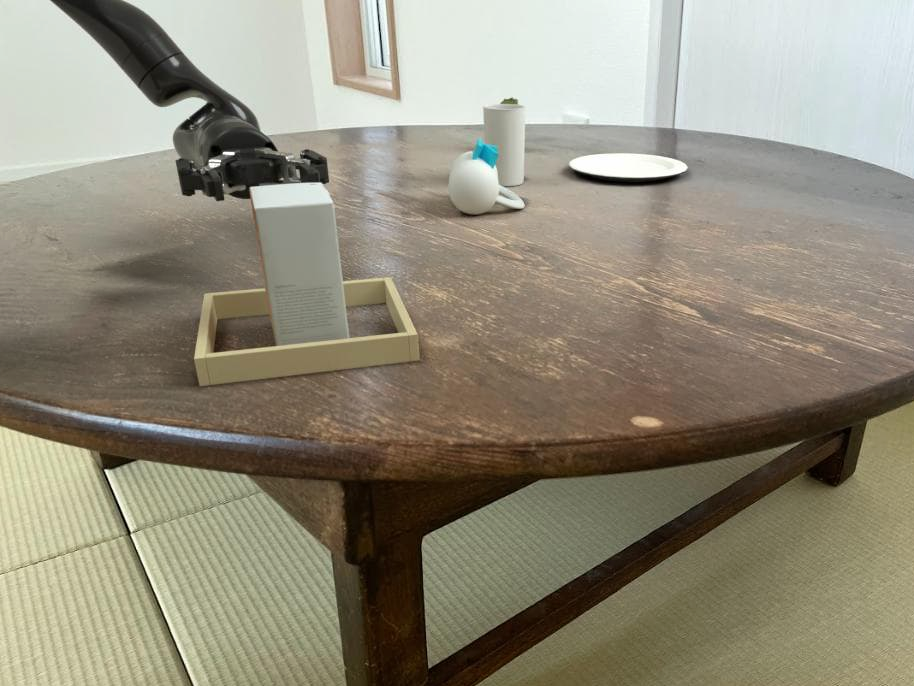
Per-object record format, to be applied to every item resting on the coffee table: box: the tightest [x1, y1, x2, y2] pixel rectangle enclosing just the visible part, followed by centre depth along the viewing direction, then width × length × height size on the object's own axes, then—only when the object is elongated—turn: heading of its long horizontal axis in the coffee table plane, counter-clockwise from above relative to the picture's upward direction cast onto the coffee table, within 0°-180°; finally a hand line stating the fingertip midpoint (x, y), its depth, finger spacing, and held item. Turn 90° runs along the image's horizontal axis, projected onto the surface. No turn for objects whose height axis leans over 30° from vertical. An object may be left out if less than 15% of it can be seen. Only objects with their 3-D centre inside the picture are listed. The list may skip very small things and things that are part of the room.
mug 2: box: [447, 138, 526, 216], centre depth 116 cm, size 12×9×12 cm
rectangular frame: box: [193, 276, 420, 387], centre depth 72 cm, size 18×16×3 cm
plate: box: [568, 152, 688, 183], centre depth 140 cm, size 21×21×2 cm
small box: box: [249, 183, 350, 346], centre depth 69 cm, size 8×6×13 cm
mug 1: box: [482, 103, 526, 187], centre depth 131 cm, size 10×7×12 cm, turn 24°
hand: (266, 185), depth 75 cm, fingers open, 8 cm apart
